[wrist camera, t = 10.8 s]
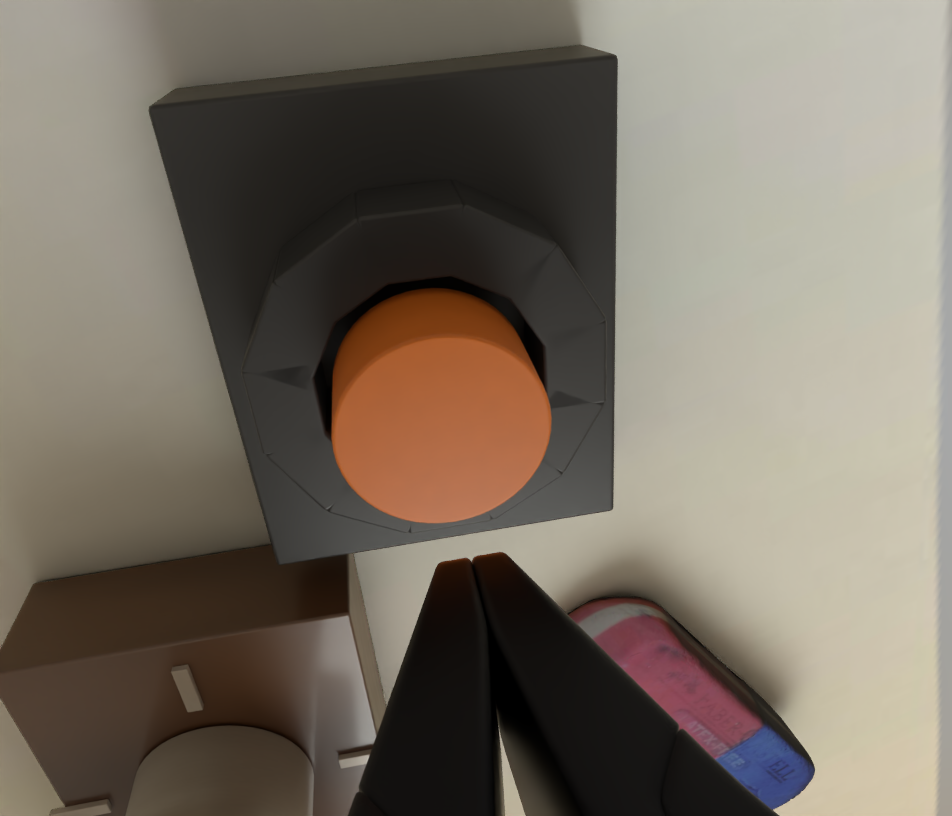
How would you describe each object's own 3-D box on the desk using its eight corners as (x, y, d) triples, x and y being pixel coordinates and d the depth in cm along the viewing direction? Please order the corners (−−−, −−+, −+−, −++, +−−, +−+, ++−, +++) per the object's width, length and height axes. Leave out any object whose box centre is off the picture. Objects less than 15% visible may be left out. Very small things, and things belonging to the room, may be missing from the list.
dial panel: (408, 766, 25) (416, 861, 22) (140, 817, 24) (115, 923, 22) (360, 528, 20) (363, 615, 17) (19, 584, 19) (-32, 684, 17)
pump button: (530, 445, 15) (555, 506, 13) (350, 473, 15) (351, 539, 13) (521, 273, 13) (548, 318, 12) (315, 301, 13) (311, 352, 11)
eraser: (520, 645, 23) (531, 692, 22) (626, 568, 22) (646, 611, 21) (710, 794, 28) (731, 841, 27) (804, 736, 27) (831, 781, 26)
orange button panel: (588, 461, 20) (640, 561, 17) (282, 509, 19) (270, 625, 16) (584, 43, 15) (656, 64, 12) (170, 88, 14) (118, 124, 11)
